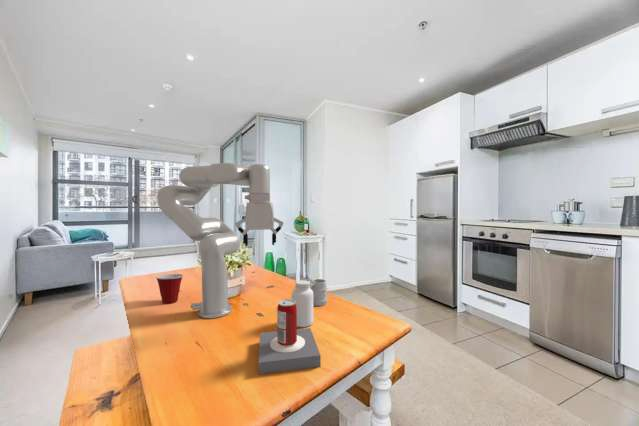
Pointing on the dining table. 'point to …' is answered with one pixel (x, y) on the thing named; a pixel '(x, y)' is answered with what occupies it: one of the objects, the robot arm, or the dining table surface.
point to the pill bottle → (303, 303)
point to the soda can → (287, 322)
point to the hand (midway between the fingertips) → (260, 245)
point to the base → (288, 352)
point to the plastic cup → (169, 287)
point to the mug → (319, 292)
